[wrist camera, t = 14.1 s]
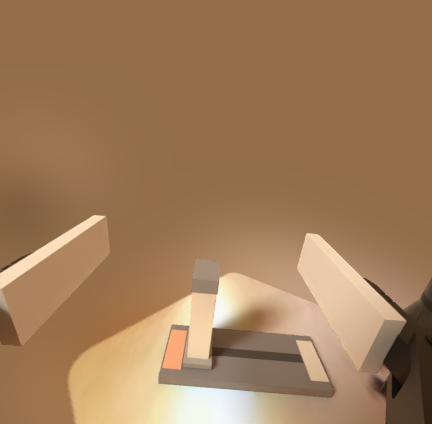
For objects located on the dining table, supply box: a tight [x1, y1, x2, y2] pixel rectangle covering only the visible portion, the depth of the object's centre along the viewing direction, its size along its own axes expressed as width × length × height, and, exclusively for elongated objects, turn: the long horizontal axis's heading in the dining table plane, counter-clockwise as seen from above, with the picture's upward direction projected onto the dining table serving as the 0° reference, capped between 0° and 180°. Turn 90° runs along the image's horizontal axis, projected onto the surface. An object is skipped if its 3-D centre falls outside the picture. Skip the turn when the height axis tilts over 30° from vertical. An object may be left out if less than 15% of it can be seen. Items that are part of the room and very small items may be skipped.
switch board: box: [159, 325, 334, 397], centre depth 31 cm, size 24×8×2 cm, turn 89°
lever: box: [183, 259, 219, 369], centre depth 28 cm, size 4×6×14 cm
